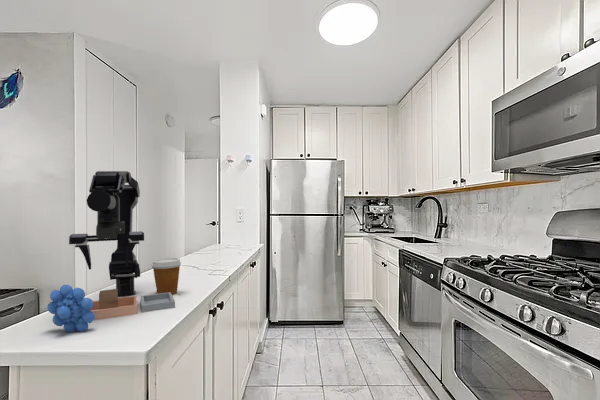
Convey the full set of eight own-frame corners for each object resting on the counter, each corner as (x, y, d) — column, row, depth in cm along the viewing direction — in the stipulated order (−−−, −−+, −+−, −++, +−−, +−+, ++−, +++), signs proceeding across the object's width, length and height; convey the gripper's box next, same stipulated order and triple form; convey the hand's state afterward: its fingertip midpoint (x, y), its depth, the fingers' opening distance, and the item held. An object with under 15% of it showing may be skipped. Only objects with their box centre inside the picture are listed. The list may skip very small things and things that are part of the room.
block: (100, 311, 103) (100, 290, 103) (118, 308, 105) (117, 288, 105) (99, 315, 99) (98, 294, 99) (117, 313, 101) (117, 292, 101)
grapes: (35, 340, 83) (33, 289, 83) (55, 329, 90) (54, 282, 90) (83, 339, 83) (82, 288, 83) (100, 329, 90) (99, 281, 90)
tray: (140, 303, 112) (140, 295, 112) (170, 299, 116) (170, 292, 116) (141, 314, 101) (141, 305, 101) (175, 309, 105) (174, 301, 105)
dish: (81, 312, 104) (81, 302, 104) (136, 305, 110) (136, 295, 110) (76, 324, 93) (76, 313, 93) (137, 315, 100) (137, 305, 100)
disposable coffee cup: (172, 299, 116) (171, 262, 116) (146, 298, 118) (145, 262, 118) (187, 291, 125) (186, 258, 125) (162, 291, 127) (162, 257, 127)
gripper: (66, 212, 92) (65, 273, 90) (144, 211, 100) (145, 267, 98) (72, 215, 101) (71, 270, 100) (143, 213, 110) (143, 264, 108)
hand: (108, 267), depth 101 cm, fingers open, 9 cm apart
